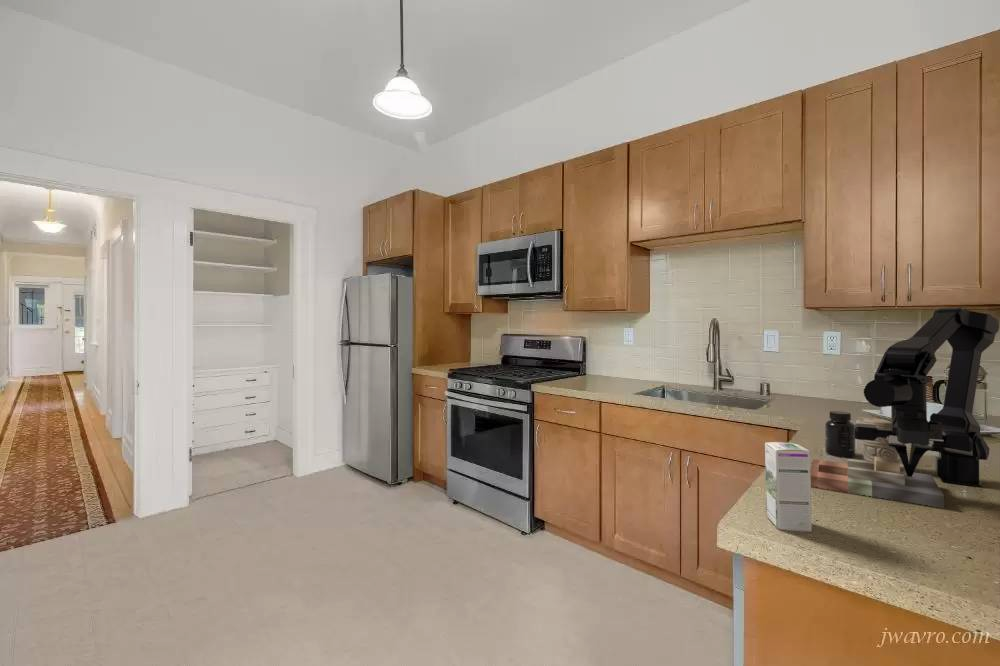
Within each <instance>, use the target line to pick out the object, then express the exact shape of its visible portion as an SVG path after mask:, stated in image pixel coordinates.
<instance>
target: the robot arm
mask: <svg viewBox="0 0 1000 666" xmlns="http://www.w3.org/2000/svg"><path fill="white" fill-rule="evenodd" d="M999 323H1000V321H999V320H998V319H997V318H996V317H995V316H992V315H991V314H990V313H983V312H977V311H972V310H970V309H967V308H963V307H948V308H947V307H945V308H944V307H943V308H939V309H936V310H934V312H933V314H932V316H931V318H930V319H928V321H927V322H925V324H923V326H921V328H919V329H918V330H917V331H916V332H915V333H914V334H913V335H912V336H911V337H910V338H907V339H903V340H900V341H896V342H894V343H893V344H892V345H890V346H889V347H888V348H887V349H886V351H885V352H884V354H883V356H882V358H881V360H880V362H879V364H878V367H877V369H876V371H875V373H874V375H873V376H874V377H873V378H874V379H872V380H870V381H869V382H867V384H866V385H865V386H864V389H863V395H864V398H865V399H866V401H867V402H868V403H869V405H870V404H871V405H872V406H874V407H878V408H885V407H890V408H891V409H890V410H891V412H890V413H891V414H890V415H891V421H890V422H891V425H892V430H885V429H877V427H876V425H872V424H862V423H860V422H859V423H858V422H857V423H856V424H854V437H855V440H859V441H861V440H869V441H874V440H875V439H876V438H877V437H881V438H886V442H887V444H888V446H891V447H895V449H896V451H897V452H898V457H899V459H900V461H901V463H902V466H903V468H904V471H905V472H906V474H907V476H912V475H913V473H915V471H916V468H917V466H918V464H919V463H920V461H921V458H922V457H923V456H924V454H925V453H927V452H928V451H930V452H937V453H938V456H936V457H935V475H936V476H937V477H938V478H939V480H940V481H941V482H944V483H951V484H958V485H964V486H973V487H980V488H981V487H982V483H981V482H980V460H982V461H988V458H989V456H990V448H989V446H988V444H987V442H986V441H985V439H984V437H983V436H982V434H981V425H980V424H979V421H977V419H976V418H975V416H974V414H973V413H974V412H973V411H974V406H975V405H974V404H975V399H976V398H975V397H976V391H977V384H978V379H979V372H980V365H981V360H982V353H983V352H984V351H986V350H987V349H988V348H989V347H990V346H991V345H992V344H994V341H995V338H996V334H997V333H998V332H999V329H1000V324H999ZM946 341H947V342H948V344H949V345H950V347H951V349H952V350H951V351H952V352H951V356H950V357H951V358H950V363H949V369H948V374H947V376H948V377H947V383H946V387H945V388H946V390H945V395H944V401H943V406H942V408H941V409H940V410H939V411H938V412H937V413H935V412H933V413H932V414H931V415H930V416H929V421H928V419H927V417H928V412H927V411H928V409H927V408H928V406H927V405H928V404H927V401H928V400H927V399H928V398H927V383H931V381H932V380H931V378H930V377H928V374H929V372H930V371H931V370H932V369H933V368H934V366H935V364H936V362H937V357H936V352H937V351H938V350H939V349H940V348H941V347H942V346H943V345H944V343H945V342H946ZM908 444H910V454H909V456H908V450H907V445H908Z"/></svg>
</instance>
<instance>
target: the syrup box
mask: <svg viewBox="0 0 1000 666" xmlns="http://www.w3.org/2000/svg"><path fill="white" fill-rule="evenodd" d="M764 448H765V449H764V454H765V455H764V457H765V458H764V459H765V461H764V462H765V463H764V465H765V467H764V468H765V506H766V507H765V508H766V509H765V510H766V512H765V513H766V515H765V516H766V518H767V519H768V520H769V521H770V523H772V524H773V525H774V526H775V527H774V528H776V529H777V530H781V531H787V532H788V531H789V532H790V531H791V532H806V533H807V532H809V533H810V532H811V533H812V527H813V526H812V523H813V522H812V487H811V476H810V470H811V451H810V450H809V449H806V448H805V447H803V446H801V445H800V444H798V443H795V442H786V441H785V442H784V441H774V442H772V441H769V442H767V441H765V443H764Z"/></svg>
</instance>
